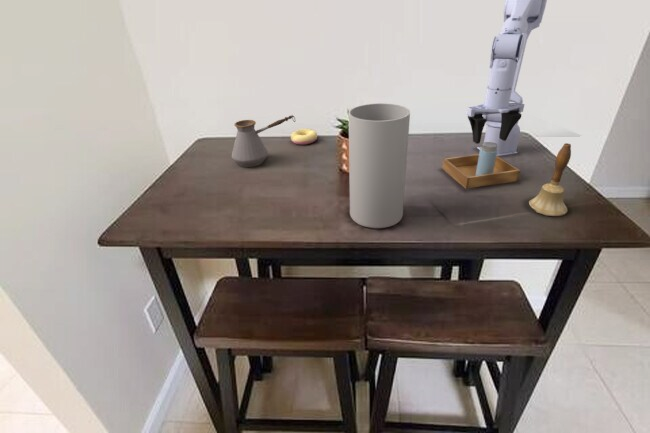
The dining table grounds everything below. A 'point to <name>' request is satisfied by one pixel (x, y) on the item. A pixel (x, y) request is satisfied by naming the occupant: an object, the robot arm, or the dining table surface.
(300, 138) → the donut
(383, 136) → the cylinder vase
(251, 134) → the coffee pot
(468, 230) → the dining table surface
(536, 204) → the hand bell
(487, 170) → the shaker
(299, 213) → the dining table surface
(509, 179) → the wooden tray
